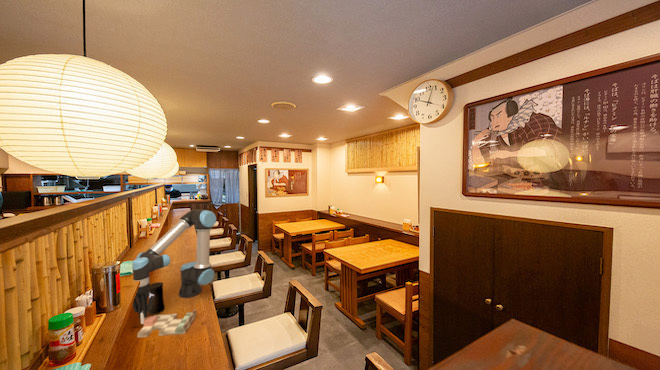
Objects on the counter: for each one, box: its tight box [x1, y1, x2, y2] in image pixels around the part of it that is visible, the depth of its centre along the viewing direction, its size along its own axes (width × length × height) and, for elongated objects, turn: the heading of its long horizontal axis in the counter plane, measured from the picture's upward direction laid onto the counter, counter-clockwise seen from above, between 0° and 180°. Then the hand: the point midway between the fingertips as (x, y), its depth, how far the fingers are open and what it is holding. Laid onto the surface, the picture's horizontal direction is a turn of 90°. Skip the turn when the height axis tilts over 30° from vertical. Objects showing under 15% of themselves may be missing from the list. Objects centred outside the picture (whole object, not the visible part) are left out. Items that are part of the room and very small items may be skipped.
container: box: [147, 281, 165, 316], centre depth 165 cm, size 9×9×18 cm
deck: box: [136, 308, 197, 339], centre depth 150 cm, size 17×25×4 cm
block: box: [142, 315, 157, 327], centre depth 148 cm, size 5×5×3 cm
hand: (143, 322), depth 148 cm, fingers closed
